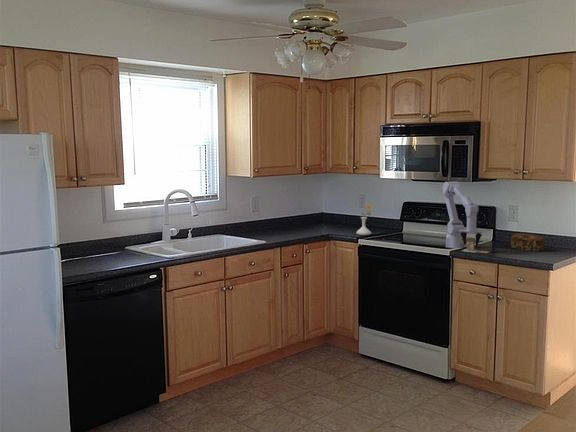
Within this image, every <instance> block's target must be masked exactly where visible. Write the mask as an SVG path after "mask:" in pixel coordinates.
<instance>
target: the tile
mask: <svg viewBox="0 0 576 432" xmlns="http://www.w3.org/2000/svg"><path fill="white" fill-rule="evenodd" d="M477 253H484V254H488V253H491V251H488V250H480V251H478V252H477Z"/></svg>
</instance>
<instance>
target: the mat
mask: <svg viewBox="0 0 576 432" xmlns="http://www.w3.org/2000/svg"><path fill="white" fill-rule="evenodd" d="M478 251H481V250H480V249H474V251H467V248H465V249H463V250H461V252H467V253H468V252H469V253H479V252H478Z"/></svg>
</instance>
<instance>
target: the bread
mask: <svg viewBox="0 0 576 432" xmlns="http://www.w3.org/2000/svg"><path fill="white" fill-rule="evenodd" d="M545 246H546V239H545V238H544V237H543V236H540V235H535V234H533V233H532V234H531V233H519V232H516V233H513V234H512V235H511V238H510V247H511V249H517V250H523V251H529V250H533V252H541V251H544V250H545Z"/></svg>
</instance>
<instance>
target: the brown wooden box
mask: <svg viewBox="0 0 576 432" xmlns="http://www.w3.org/2000/svg"><path fill="white" fill-rule="evenodd" d="M475 243H476V237H475V238H474V237H466V249H467V251H474V250H475Z"/></svg>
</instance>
